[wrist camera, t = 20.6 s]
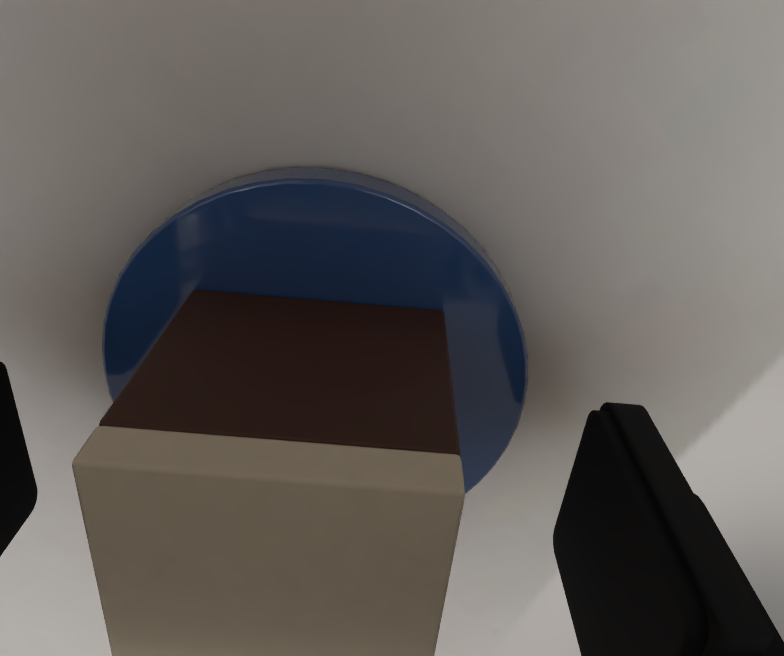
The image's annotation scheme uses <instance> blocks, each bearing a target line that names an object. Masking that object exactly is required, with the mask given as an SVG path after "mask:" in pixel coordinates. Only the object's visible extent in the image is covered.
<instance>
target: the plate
mask: <svg viewBox="0 0 784 656" xmlns="http://www.w3.org/2000/svg"><path fill="white" fill-rule="evenodd" d="M193 290H206V291H218V292H229V293H241V294H252V295H264V296H275V297H287V298H299V299H310V300H322V301H333V302H345V303H356V304H368V305H379V306H391V307H402V308H414V309H425V310H437V311H442V312H444V317H445V325H446V334H447V342H448V350H449V359H450V367H451V376H452V384H453V393H454V401H455V410H456V418H457V427H458V435H459V443H460V452H461V454H460V458H461V461H462V469H463V478H464V486H465V494H466V493H467V492H468V491H469V490H471V489H472V488H473V487H474V486H475V485H476V484H478V483H479V482H480V481H481V480H482V479H483V477H484V476H485V475H486V474H487V473H488V472H489V471H490V470H491V469H492V468H493V466H494V465H495V464H496V462H497V461H498V459H499V458H500V457H501V455H502V454H503V452H504V451H505V449H506V448H507V446H508V444H509V442H510V440H511V438H512V436H513V434H514V432H515V430H516V428H517V425H518V422H519V419H520V416H521V413H522V410H523V406H524V403H525V396H526V390H527V383H528V356H527V350H526V344H525V338H524V333H523V330H522V326H521V323H520V320H519V317H518V314H517V311H516V308H515V305H514V302H513V300H512V297H511V294H510V292H509V290H508V288H507V286H506V284H505V282H504V280H503V278H502V276H501V274H500V272H499V270H498V268H497V267H496V266H495V264H494V263H493V261H492V260H491V259H490V257H489V256H488V254H487V253H486V251H485V250H484V249H483V247H482V246H481V245H480V244H479V243H478V242H477V241H476V240H475V239H474V238H473V237H472V236H471V235H470V234H469V233H468V231H467V230H466V229H465V228H464V227H462V226H461V225H460V224H459V223H457V222H456V221H455V220H454V219H452V218H451V217H450V216H449V215H448V214H446V213H445V212H444V211H443V210H441V209H440V208H438V207H436V206H435V205H433V204H431V203H430V202H428V201H426V200H425V199H423V198H421V197H420V196H418V195H417V194H414V193H412V192H410V191H408V190H405V189H403V188H401V187H399V186H396V185H394V184H392V183H389V182H387V181H383V180H380V179H376V178H373V177H370V176H366V175H363V174H359V173H354V172H348V171H341V170H335V169H329V168H297V167H296V168H287V169H277V170H268V171H263V172H259V173H255V174H251V175H247V176H242V177H238V178H235V179H233V180H230V181H228V182H225V183H223V184H220V185H218V186H215V187H213V188H210V189H209V190H207V191H205V192H203V193H202V194H200V195H198V196H197V197H195V198H193V199H191V200H190V201H188V202H186V203H185V204H184V205H182V206H181V207H180V208H179V209H177V210H176V211H175V212H174V213H173V214H171V215H170V216H169V217H168V218H166V219H165V220H164V221H163V222H162V223H161V224H160V225H159V226H158V227H157V228H156V229H155V230H154V231H153V232H152V233H151V234H150V235H149V236H148V237H147V238H146V239H145V240H144V241H143V243H142V244H141V245H140V246H139V247H138V248H137V249H136V250H135V251H134V253H133V254H132V256H131V257H130V259H129V260H128V262H127V263H126V265H125V267H124V268H123V270H122V271H121V273H120V274H119V277H118V279H117V281H116V284H115V286H114V288H113V291H112V293H111V295H110V298H109V302H108V306H107V310H106V314H105V319H104V326H103V340H102V352H103V364H104V372H105V376H106V381H107V385H108V389H109V393H110V396H111V398H112V401H113V402H114V401H115V400H116V398H117V397H118V395H119V394H120V392H121V391H122V390H123V388H124V387H125V385H126V384H127V383H128V381H129V380H130V378H131V377H132V375H133V374H134V373H135V371H136V370H137V368H138V367H139V366H140V364H141V363H142V361H143V360H144V358H145V357H146V356H147V354H148V353H149V351H150V350H151V349H152V347H153V346H154V344H155V343H156V341H157V340H158V339H159V337H160V336H161V334H162V333H163V332H164V330H165V329H166V327H167V326H168V324H169V323H170V322H171V320H172V319H173V317H174V316H175V315H176V313H177V312H178V310H179V309H180V307H181V306H182V305H183V303H184V302H185V300H186V299H187V298H188V296H189V295H190V293H191V292H192V291H193Z"/></svg>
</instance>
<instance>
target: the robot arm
mask: <svg viewBox="0 0 784 656" xmlns="http://www.w3.org/2000/svg"><path fill="white" fill-rule="evenodd" d="M36 500H37V486H36V482H35V478H34V474H33V470H32V466H31V462H30V458H29V454H28V451H27V447H26V443H25V439H24V435H23V431H22V427H21V423H20V419H19V415H18V411H17V408H16V404H15V400H14V396H13V392H12V388H11V384H10V380H9V376H8V372H7V369H6V367H5V365H4V364H3V363H2V362H0V556H1V555H2V553H3V552H4V550H5V549H6V547H7V546H8V545H9V543H10V542H11V540H12V539H13V538H14V536H15V535H16V533H17V532H18V531H19V529H20V528H21V526H22V525H23V524H24V522H25V521H26V519H27V518H28V517H29V515H30V514H31V512H32V510H33V509H34V506H35V504H36ZM553 546H554V553H555V557H556V560H557V564H558V568H559V572H560V576H561V579H562V583H563V587H564V591H565V595H566V599H567V602H568V606H569V610H570V613H571V618H572V621H573V625H574V629H575V633H576V637H577V640H578V644H579V648H580V652H581V656H784V642H783V640H782V639H781V636H780V635H779V633H778V631H777V630H776V628H775V626H774V624H773V623H772V621H771V619H770V618H769V616H768V614H767V612H766V610H765V609H764V607H763V605H762V604H761V602H760V600H759V598H758V597H757V595H756V593H755V591H754V590H753V588H752V586H751V585H750V583H749V581H748V579H747V578H746V576H745V574H744V572H743V571H742V569H741V567H740V565H739V564H738V562H737V560H736V559H735V557H734V555H733V553H732V552H731V550H730V548H729V546H728V545H727V543H726V541H725V539H724V538H723V536H722V534H721V533H720V531H719V529H718V527H717V526H716V524H715V522H714V520H713V519H712V517H711V515H710V513H709V512H708V510H707V508H706V507H705V505H704V503H703V502H702V501H701V499H700V498H699V497H698V496H697V495H696V494H694V493H693V492H692V490H691V488H690V486H689V484H688V483H687V481H686V479H685V477H684V476H683V474H682V472H681V470H680V469H679V467H678V465H677V463H676V462H675V460H674V458H673V456H672V454H671V453H670V451H669V449H668V447H667V446H666V444H665V442H664V440H663V439H662V437H661V435H660V433H659V432H658V430H657V428H656V426H655V425H654V423H653V421H652V419H651V418H650V416H649V414H648V412H647V410H646V409H645V408H644V407H643V406H641V405H634V404H622V403H610V402H606V403H604V404H603V405H602V406H601V408H600V410H599V411H598V410H593V411H591V412H590V413H589V415H588V418H587V421H586V425H585V428H584V431H583V435H582V438H581V441H580V445H579V448H578V451H577V455H576V458H575V461H574V465H573V468H572V471H571V475H570V478H569V481H568V485H567V488H566V491H565V495H564V498H563V501H562V505H561V508H560V511H559V515H558V518H557V521H556V525H555V528H554V534H553Z"/></svg>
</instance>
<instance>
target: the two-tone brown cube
mask: <svg viewBox="0 0 784 656" xmlns="http://www.w3.org/2000/svg"><path fill="white" fill-rule="evenodd" d="M460 454H461V452H460V443H459V435H458V427H457V418H456V410H455V401H454V393H453V384H452V376H451V367H450V359H449V350H448V342H447V334H446V325H445V317H444V312H442V311H437V310H425V309H414V308H402V307H391V306H379V305H368V304H356V303H345V302H333V301H322V300H310V299H299V298H287V297H275V296H264V295H252V294H241V293H229V292H218V291H206V290H193V291H192V292H191V293H190V295H189V296H188V298H187V299H186V300H185V302H184V303H183V305H182V306H181V307H180V309H179V310H178V312H177V313H176V315H175V316H174V317H173V319H172V320H171V322H170V323H169V324H168V326H167V327H166V329H165V330H164V332H163V333H162V334H161V336H160V337H159V339H158V340H157V341H156V343H155V344H154V346H153V347H152V349H151V350H150V351H149V353H148V354H147V356H146V357H145V358H144V360H143V361H142V363H141V364H140V366H139V367H138V368H137V370H136V371H135V373H134V374H133V375H132V377H131V378H130V380H129V381H128V383H127V384H126V385H125V387H124V388H123V390H122V391H121V392H120V394H119V395H118V397H117V398H116V400H115V401H114V402H113V404H112V405H111V407H110V408H109V409H108V411H107V412H106V414H105V415H104V417H103V418H102V419H101V421H100V424H99V426H98V427H96V428H95V430H94V431H93V432H92V434H91V435H90V437H89V438H88V439H87V441H86V442H85V444H84V445H83V447H82V448H81V449H80V451H79V452H78V454H77V455H76V457H75V458H74V459H73V462H72V468H73V472H74V477H75V482H76V487H77V491H78V496H79V501H80V505H81V510H82V515H83V520H84V524H85V529H86V534H87V538H88V543H89V548H90V553H91V557H92V562H93V567H94V571H95V576H96V581H97V586H98V590H99V595H100V600H101V604H102V609H103V614H104V619H105V623H106V628H107V633H108V637H109V642H110V647H111V652H112V656H434V653H435V648H436V643H437V638H438V632H439V627H440V622H441V617H442V612H443V607H444V602H445V596H446V591H447V586H448V581H449V576H450V571H451V565H452V560H453V555H454V550H455V545H456V540H457V534H458V529H459V524H460V519H461V514H462V509H463V503H464V498H465V486H464V478H463V469H462V461H461V458H460Z"/></svg>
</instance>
